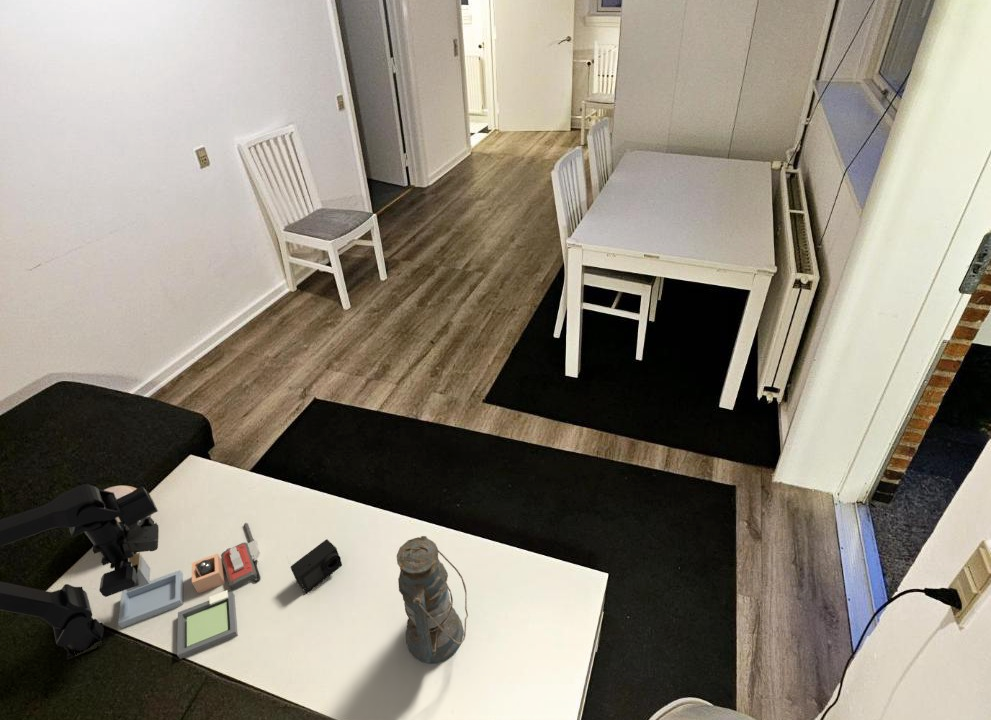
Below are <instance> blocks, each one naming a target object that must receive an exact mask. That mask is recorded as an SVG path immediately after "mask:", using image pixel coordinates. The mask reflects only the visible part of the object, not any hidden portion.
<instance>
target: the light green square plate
mask: <svg viewBox="0 0 991 720" xmlns="http://www.w3.org/2000/svg"><path fill="white" fill-rule="evenodd" d="M228 630H230V620H229V605H228V602H225V603H222V604H220V605H217V606H215V607H212V608H210V609H207V610H204V611H202V612H199V613H197V614H194V615H192V616H189V617H187V618H186V647H189V646H191V645H194V644H196V643H199V642H201V641H204V640H206V639H208V638H211V637H213V636H216V635H218V634H221V633H223V632H226V631H228Z"/></svg>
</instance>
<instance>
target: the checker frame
mask: <svg viewBox="0 0 991 720" xmlns="http://www.w3.org/2000/svg"><path fill="white" fill-rule="evenodd" d="M208 598H209V599H208V600H206V601H204V602H202V603H199V604H196V605H194V606H193V605H192V606H191V607H188V608H186V609H185V608H184V609H183V610H181V611H178V612H177V638H176V639H177V641H176V642H177V645H176V646H177V649H176V652H177V654H176V655H177V657H178V658H179V660H183V659H184V658H187V657H189V656H191V655H193V654H197V653H198V652H201V651H203V650H206V649H208V648H211V647H213V646H216V645H218V644H221V643H224V642H225V641H227V640H228V641H229V640H231V639H232V638H235V637H237V636H238V635H239V634H238V624H237V623H238V621H237V610H236V609H237V608H236V597H235V593H234V591H228V589H227V590H223V591H221V592H218V593H216V594H213V595H211V596H209V597H208ZM225 602H227V603H228V617H229V630H228V631H226V632H223V633H221V634H218V635H216V636H213V637H211V638H208V639H206V640H204V641H201V642H199V643H196V644H194V645H191V646H189V647H187V646H186V619H187V617H189V616H192V615H194V614H197V613H199V612H202V611H204V610H207V609H210V608H212V607H215V606H217V605H220V604H222V603H225Z"/></svg>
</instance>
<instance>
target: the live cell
mask: <svg viewBox="0 0 991 720" xmlns="http://www.w3.org/2000/svg"><path fill="white" fill-rule="evenodd" d="M129 562H131V563H132V566H134V565H137V564H138V571H137V576H136V578H137V580H138V583H139V585H138V586H136V587H132V588H129V589H126V590H127V592H128V591H131V590H134V589H136V588H139V587H142V586H145V585H147V584H149V581H151V580H150V577H151V567H150V566H149V564H148V563H147V561H146V559H144V557H143V555H142V554H141V552H137V554H134V557H131V558H129Z"/></svg>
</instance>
